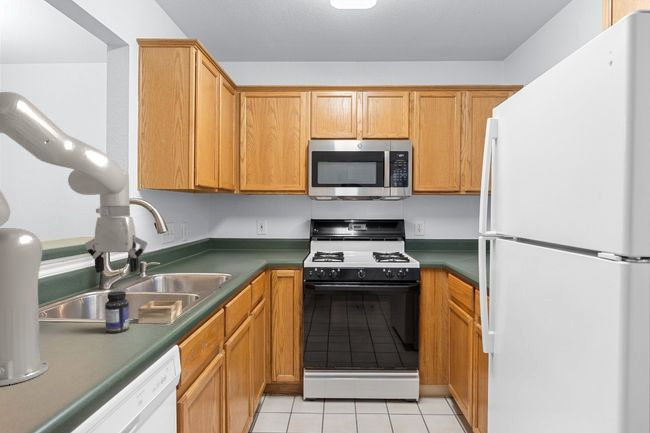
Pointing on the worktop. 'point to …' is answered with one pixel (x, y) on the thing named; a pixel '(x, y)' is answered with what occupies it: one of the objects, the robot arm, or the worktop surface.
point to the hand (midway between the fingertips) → (117, 271)
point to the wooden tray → (159, 311)
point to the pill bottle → (117, 312)
